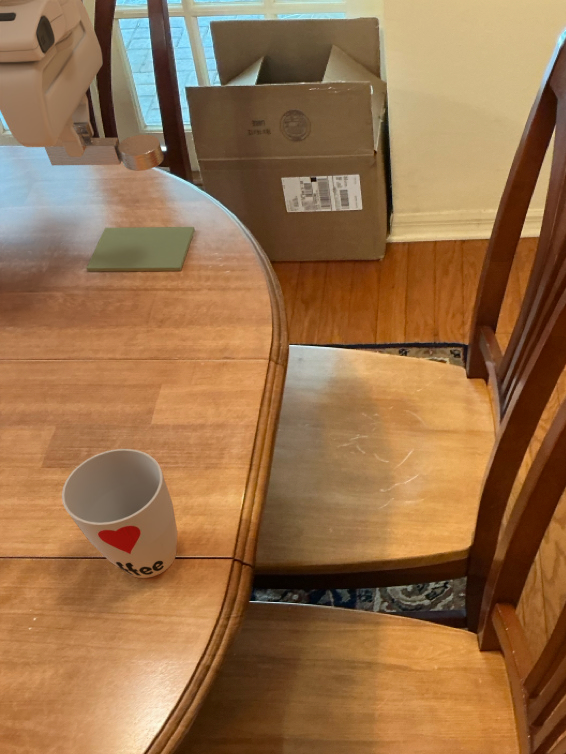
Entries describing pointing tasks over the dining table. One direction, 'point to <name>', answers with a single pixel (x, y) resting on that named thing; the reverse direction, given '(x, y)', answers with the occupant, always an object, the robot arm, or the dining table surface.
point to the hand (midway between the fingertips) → (81, 146)
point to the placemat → (141, 249)
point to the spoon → (112, 152)
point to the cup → (124, 510)
